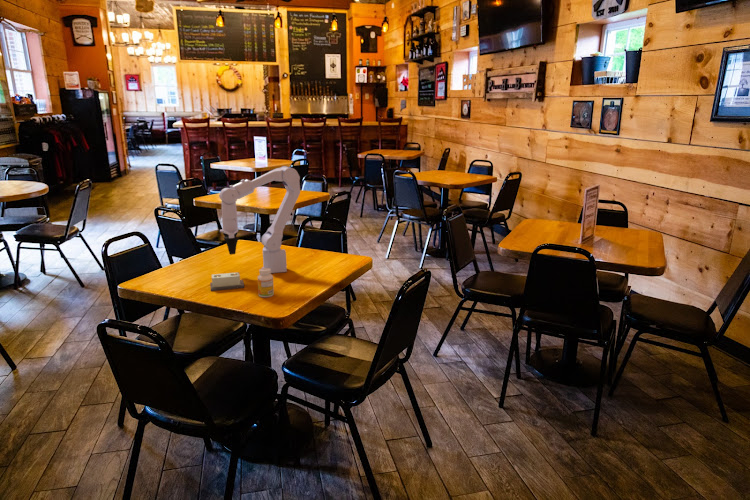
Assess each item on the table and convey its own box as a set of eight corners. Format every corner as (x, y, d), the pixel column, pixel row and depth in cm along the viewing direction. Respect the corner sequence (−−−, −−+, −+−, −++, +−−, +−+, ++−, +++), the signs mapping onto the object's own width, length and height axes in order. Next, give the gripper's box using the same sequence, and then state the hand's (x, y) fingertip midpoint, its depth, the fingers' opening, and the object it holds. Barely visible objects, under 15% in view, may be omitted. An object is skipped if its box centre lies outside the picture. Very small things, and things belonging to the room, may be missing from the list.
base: (242, 282, 196) (242, 271, 195) (244, 287, 190) (243, 276, 189) (210, 285, 193) (209, 273, 191) (210, 290, 186) (209, 279, 185)
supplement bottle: (259, 292, 185) (258, 267, 182) (274, 292, 185) (273, 267, 183) (257, 297, 179) (256, 271, 177) (272, 297, 180) (271, 271, 178)
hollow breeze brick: (239, 281, 195) (238, 272, 194) (240, 284, 190) (239, 276, 189) (212, 283, 192) (211, 274, 191) (212, 287, 187) (211, 278, 186)
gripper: (218, 215, 204) (220, 248, 208) (219, 222, 191) (222, 257, 195) (236, 215, 207) (238, 247, 210) (238, 221, 193) (240, 255, 197)
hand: (231, 251), depth 202 cm, fingers open, 7 cm apart
